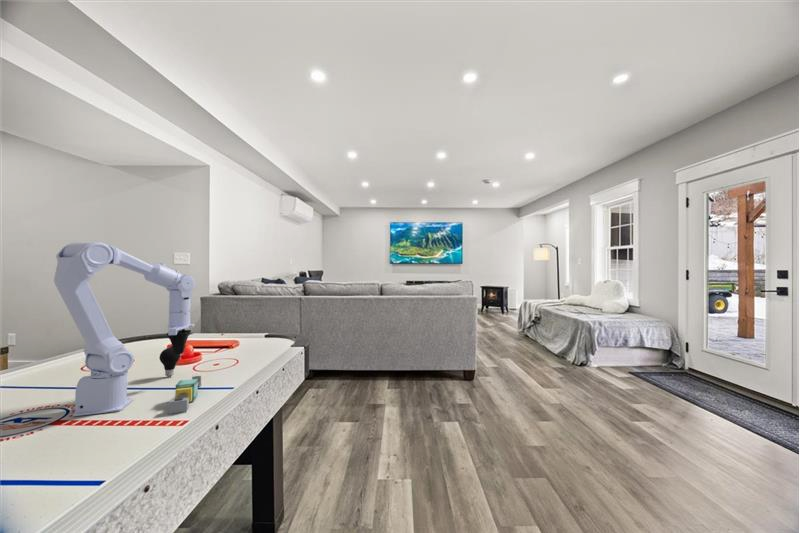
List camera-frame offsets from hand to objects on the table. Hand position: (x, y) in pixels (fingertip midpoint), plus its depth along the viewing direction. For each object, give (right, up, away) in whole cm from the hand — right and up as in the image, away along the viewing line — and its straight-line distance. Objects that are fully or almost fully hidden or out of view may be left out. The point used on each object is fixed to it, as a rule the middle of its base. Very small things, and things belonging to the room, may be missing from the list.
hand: (178, 353), depth 100 cm
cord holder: (+11, -10, -11) cm, 18 cm away
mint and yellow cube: (+11, -10, -12) cm, 19 cm away
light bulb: (-8, -10, +7) cm, 15 cm away
